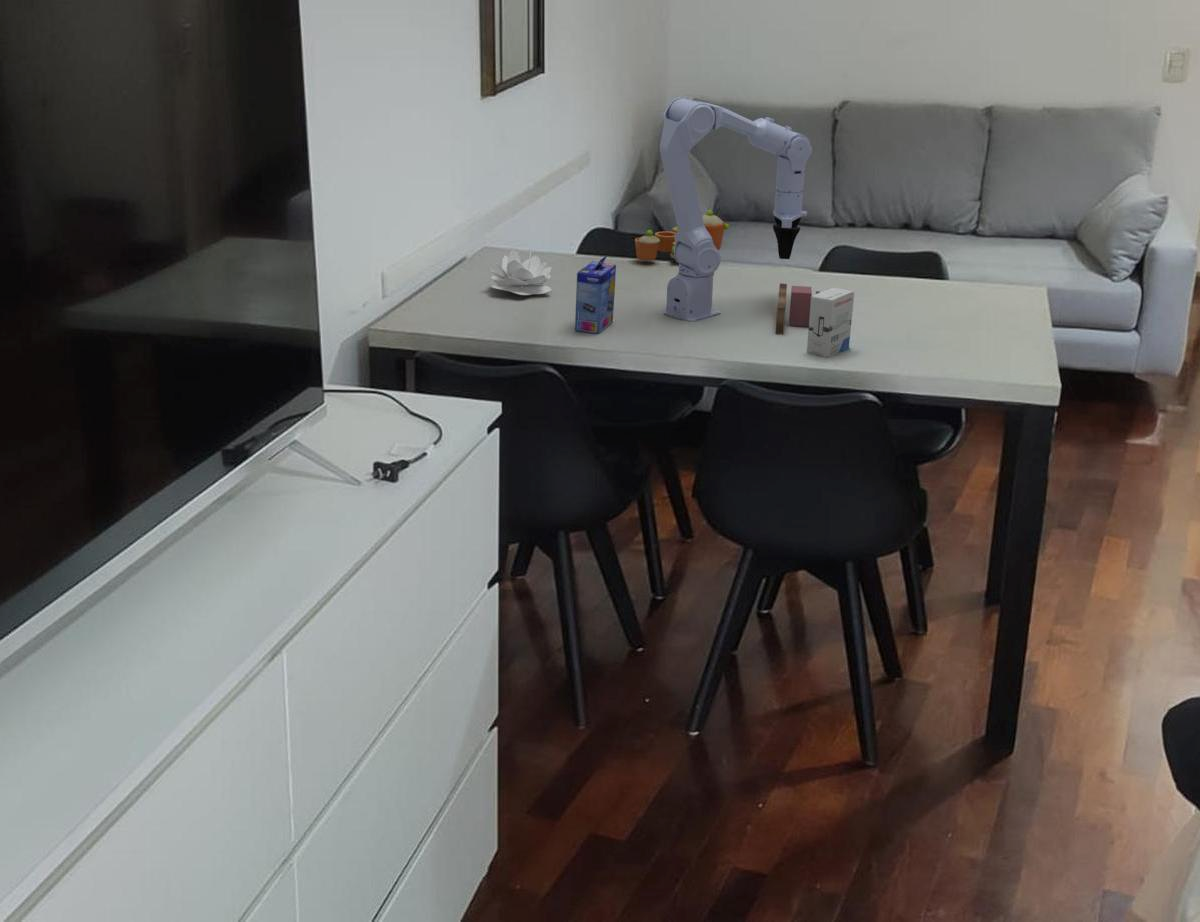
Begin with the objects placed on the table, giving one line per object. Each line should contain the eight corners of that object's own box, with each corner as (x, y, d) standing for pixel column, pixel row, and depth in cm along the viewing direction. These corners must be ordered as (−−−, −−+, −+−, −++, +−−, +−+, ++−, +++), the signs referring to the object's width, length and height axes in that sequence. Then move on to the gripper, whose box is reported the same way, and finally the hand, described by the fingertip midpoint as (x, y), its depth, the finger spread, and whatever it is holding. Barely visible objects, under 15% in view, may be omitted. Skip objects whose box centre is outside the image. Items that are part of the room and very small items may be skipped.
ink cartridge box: (600, 335, 287) (601, 263, 281) (573, 331, 288) (574, 260, 283) (615, 321, 296) (617, 251, 290) (589, 318, 297) (590, 249, 292)
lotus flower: (527, 303, 307) (527, 262, 304) (473, 290, 315) (472, 251, 312) (567, 288, 318) (568, 249, 315) (514, 277, 326) (514, 239, 322)
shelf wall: (783, 334, 290) (785, 307, 288) (775, 333, 290) (777, 307, 288) (785, 309, 306) (787, 283, 304) (778, 308, 306) (779, 283, 304)
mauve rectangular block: (809, 326, 295) (811, 293, 292) (789, 325, 295) (791, 292, 293) (808, 319, 300) (811, 286, 297) (789, 318, 300) (791, 285, 297)
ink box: (828, 344, 284) (833, 285, 280) (850, 349, 282) (855, 290, 277) (805, 354, 278) (809, 294, 274) (827, 359, 275) (832, 299, 271)
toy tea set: (678, 237, 364) (679, 199, 360) (733, 247, 356) (735, 208, 353) (623, 258, 344) (624, 218, 340) (680, 269, 336) (682, 228, 332)
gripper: (808, 198, 295) (803, 263, 300) (809, 184, 308) (804, 246, 313) (773, 196, 296) (769, 261, 301) (775, 182, 309) (771, 245, 314)
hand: (784, 254), depth 307 cm, fingers open, 7 cm apart
